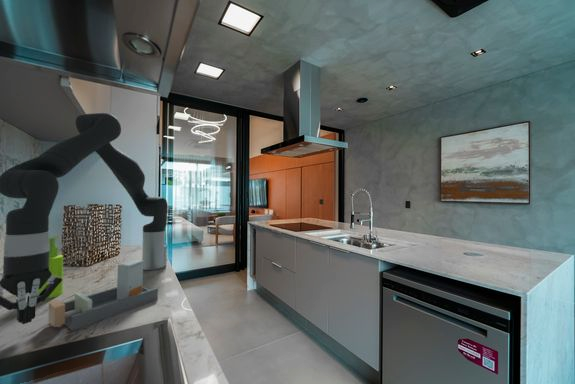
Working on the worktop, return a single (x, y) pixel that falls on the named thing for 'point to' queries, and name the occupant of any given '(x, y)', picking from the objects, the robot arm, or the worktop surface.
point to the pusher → (58, 311)
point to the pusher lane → (107, 306)
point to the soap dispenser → (54, 268)
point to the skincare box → (129, 279)
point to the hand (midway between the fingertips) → (25, 322)
